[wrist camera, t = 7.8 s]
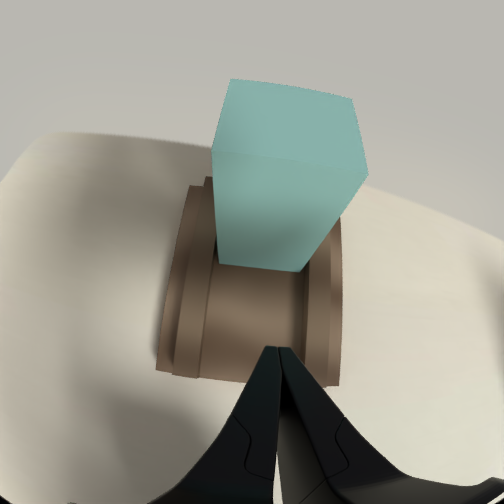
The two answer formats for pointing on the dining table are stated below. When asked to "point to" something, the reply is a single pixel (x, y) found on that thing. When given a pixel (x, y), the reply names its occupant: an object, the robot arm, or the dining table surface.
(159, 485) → the dining table surface
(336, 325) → the chute
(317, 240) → the block
